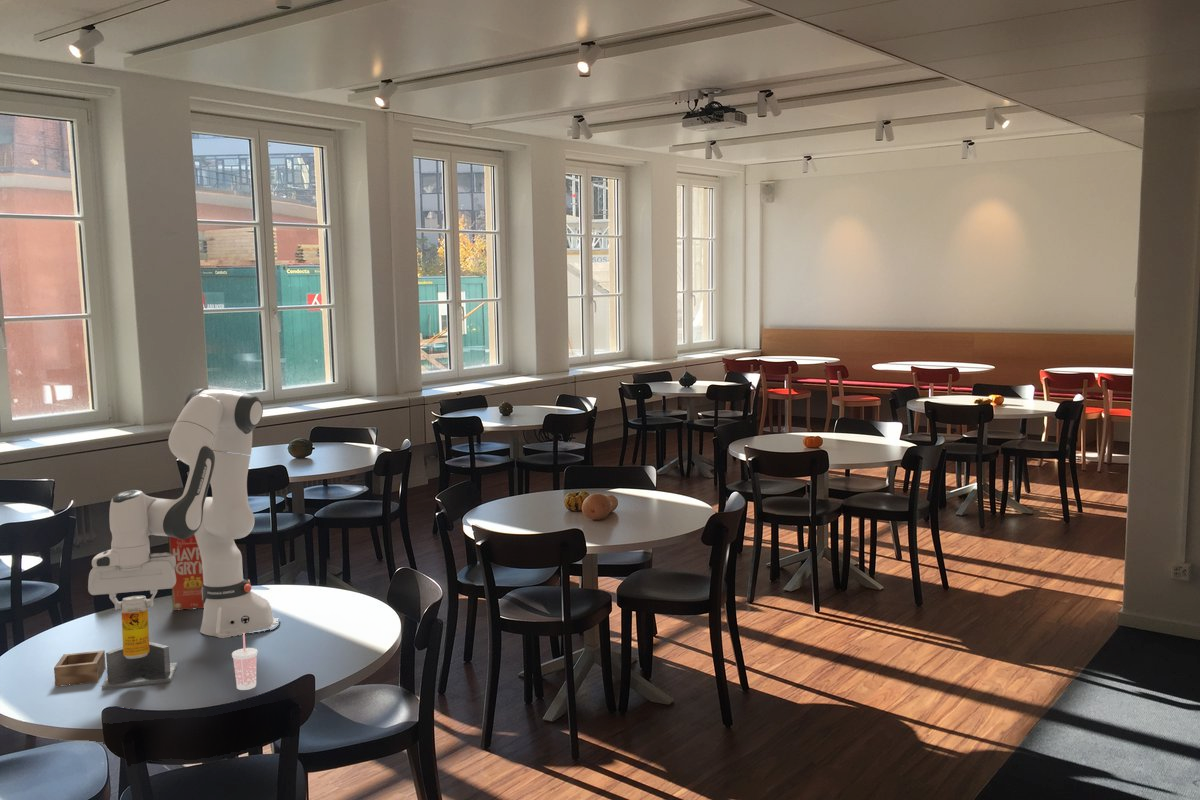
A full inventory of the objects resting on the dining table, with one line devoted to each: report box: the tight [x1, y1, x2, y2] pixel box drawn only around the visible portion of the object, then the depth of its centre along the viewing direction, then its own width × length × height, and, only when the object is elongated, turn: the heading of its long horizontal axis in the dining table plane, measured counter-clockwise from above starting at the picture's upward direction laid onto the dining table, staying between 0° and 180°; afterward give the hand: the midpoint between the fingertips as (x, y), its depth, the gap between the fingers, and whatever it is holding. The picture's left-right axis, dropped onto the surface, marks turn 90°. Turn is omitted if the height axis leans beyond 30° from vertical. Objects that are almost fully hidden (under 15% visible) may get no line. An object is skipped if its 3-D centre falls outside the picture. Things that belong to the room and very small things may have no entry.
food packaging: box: [167, 534, 204, 611], centre depth 313 cm, size 13×9×25 cm
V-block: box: [101, 641, 178, 690], centre depth 253 cm, size 16×12×8 cm
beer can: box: [120, 595, 150, 659], centre depth 250 cm, size 6×6×15 cm
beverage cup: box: [231, 633, 258, 691], centre depth 246 cm, size 6×6×14 cm
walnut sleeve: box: [53, 649, 107, 687], centre depth 254 cm, size 10×10×5 cm
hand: (134, 607), depth 250 cm, fingers closed on beer can, 6 cm apart
